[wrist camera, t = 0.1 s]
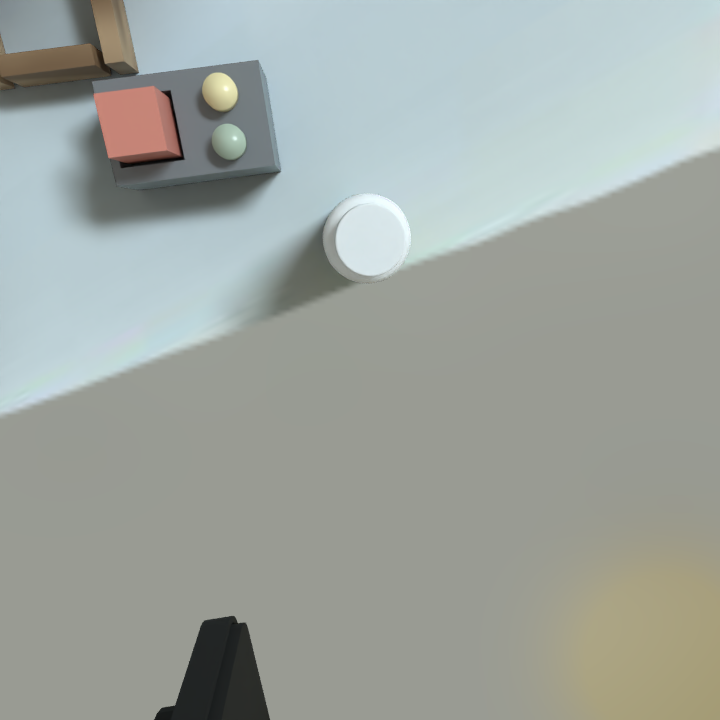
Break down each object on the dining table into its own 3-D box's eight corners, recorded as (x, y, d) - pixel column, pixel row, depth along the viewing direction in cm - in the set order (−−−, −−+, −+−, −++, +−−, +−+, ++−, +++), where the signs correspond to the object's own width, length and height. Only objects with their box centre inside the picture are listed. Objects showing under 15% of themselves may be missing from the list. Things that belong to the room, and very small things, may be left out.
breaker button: (115, 106, 32) (93, 93, 29) (170, 99, 32) (153, 85, 29) (129, 164, 33) (108, 157, 30) (182, 157, 33) (167, 150, 30)
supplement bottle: (323, 272, 39) (321, 288, 29) (324, 197, 38) (321, 188, 28) (395, 274, 39) (416, 290, 30) (399, 199, 38) (421, 191, 28)
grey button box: (118, 97, 35) (85, 77, 31) (266, 77, 35) (256, 55, 31) (139, 190, 37) (111, 185, 32) (280, 171, 37) (273, 163, 32)
